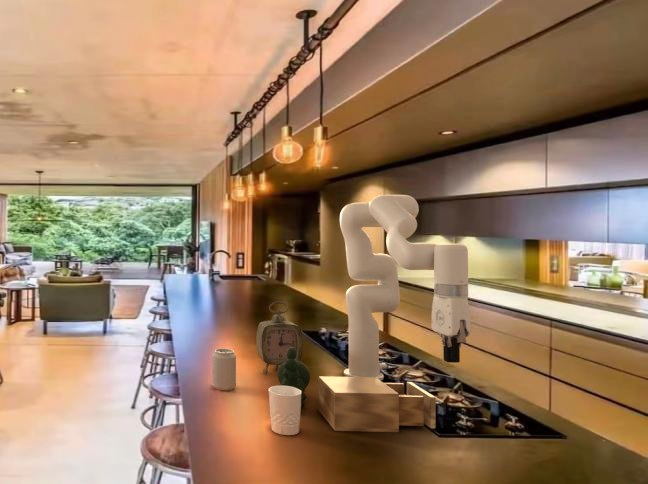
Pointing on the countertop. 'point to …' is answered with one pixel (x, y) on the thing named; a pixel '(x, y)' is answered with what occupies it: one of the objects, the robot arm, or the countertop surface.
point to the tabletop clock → (278, 339)
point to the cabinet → (358, 404)
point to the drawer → (416, 405)
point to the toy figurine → (294, 374)
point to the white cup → (285, 409)
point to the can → (224, 369)
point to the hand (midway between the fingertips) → (451, 361)
